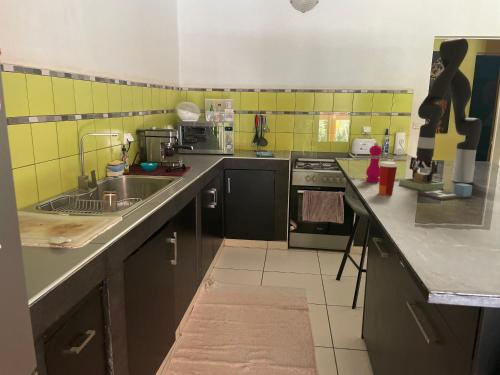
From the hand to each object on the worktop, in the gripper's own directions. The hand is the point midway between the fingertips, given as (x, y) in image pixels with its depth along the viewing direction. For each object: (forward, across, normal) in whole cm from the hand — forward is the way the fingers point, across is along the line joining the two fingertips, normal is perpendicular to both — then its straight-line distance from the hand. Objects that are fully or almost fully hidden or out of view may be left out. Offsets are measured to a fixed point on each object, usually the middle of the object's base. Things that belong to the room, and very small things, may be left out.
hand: (421, 180), depth 188 cm
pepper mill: (+4, +18, +14) cm, 23 cm away
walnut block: (+3, 0, 0) cm, 3 cm away
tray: (+3, 0, 0) cm, 3 cm away
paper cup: (+4, -6, +28) cm, 29 cm away
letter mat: (+3, -16, +6) cm, 18 cm away
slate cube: (+4, -19, -4) cm, 20 cm away
